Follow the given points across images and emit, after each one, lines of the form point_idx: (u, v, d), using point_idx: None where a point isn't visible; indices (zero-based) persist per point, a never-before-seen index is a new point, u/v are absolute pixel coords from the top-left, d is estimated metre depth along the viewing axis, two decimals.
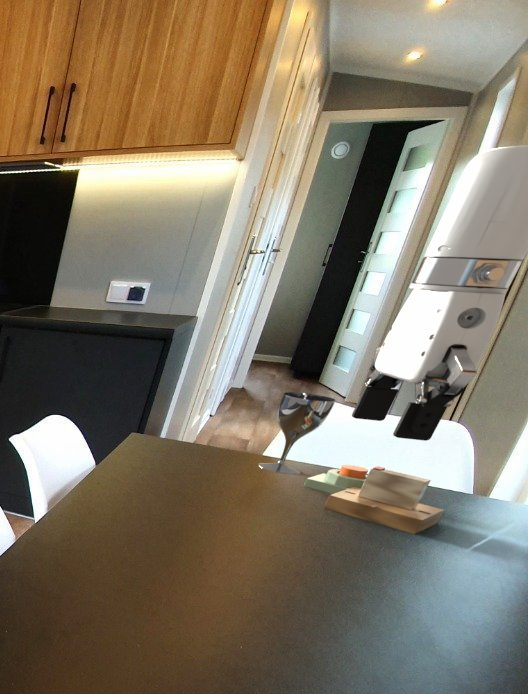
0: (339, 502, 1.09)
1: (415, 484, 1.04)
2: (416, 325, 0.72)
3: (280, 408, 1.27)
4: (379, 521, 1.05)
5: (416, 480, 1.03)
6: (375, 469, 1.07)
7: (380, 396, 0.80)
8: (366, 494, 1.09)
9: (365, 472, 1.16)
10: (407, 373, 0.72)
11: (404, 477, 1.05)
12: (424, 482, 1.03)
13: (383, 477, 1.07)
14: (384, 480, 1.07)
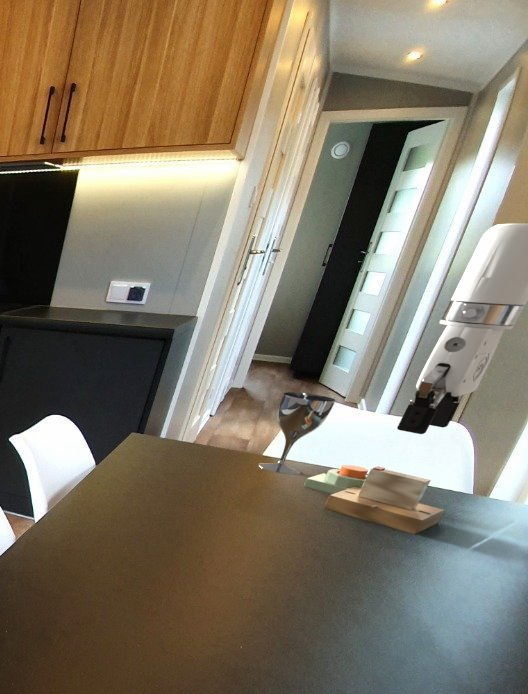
0: (339, 502, 1.09)
1: (415, 484, 1.04)
2: None
3: (280, 408, 1.27)
4: (379, 521, 1.05)
5: (416, 480, 1.03)
6: (375, 469, 1.07)
7: (441, 407, 1.02)
8: (366, 494, 1.09)
9: (365, 472, 1.16)
10: None
11: (404, 477, 1.05)
12: (424, 482, 1.03)
13: (383, 477, 1.07)
14: (384, 480, 1.07)
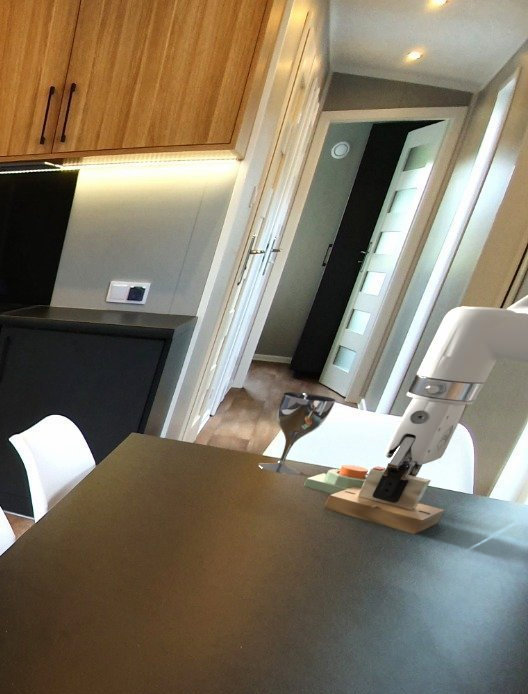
0: (339, 502, 1.09)
1: (415, 484, 1.04)
2: None
3: (280, 408, 1.27)
4: (379, 521, 1.05)
5: (416, 480, 1.03)
6: (375, 469, 1.07)
7: None
8: (366, 494, 1.09)
9: (365, 472, 1.16)
10: None
11: None
12: (424, 482, 1.03)
13: None
14: None
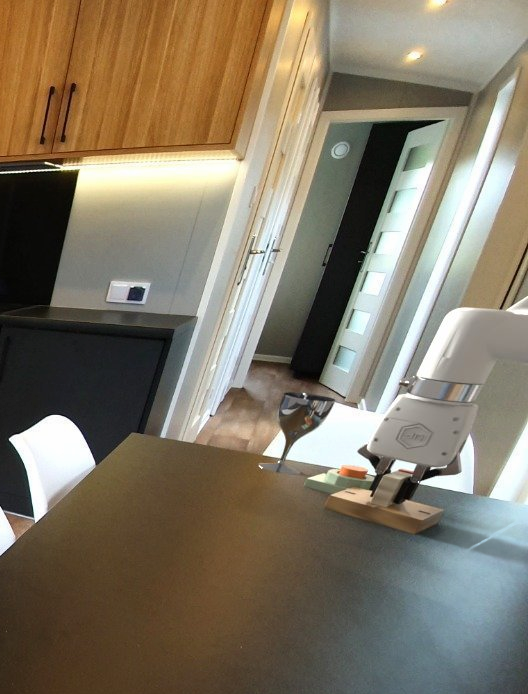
0: (339, 502, 1.09)
1: None
2: None
3: (280, 408, 1.27)
4: (379, 521, 1.05)
5: (386, 475, 1.05)
6: (399, 469, 1.08)
7: None
8: None
9: (365, 472, 1.16)
10: None
11: (390, 473, 1.06)
12: (383, 476, 1.05)
13: None
14: None
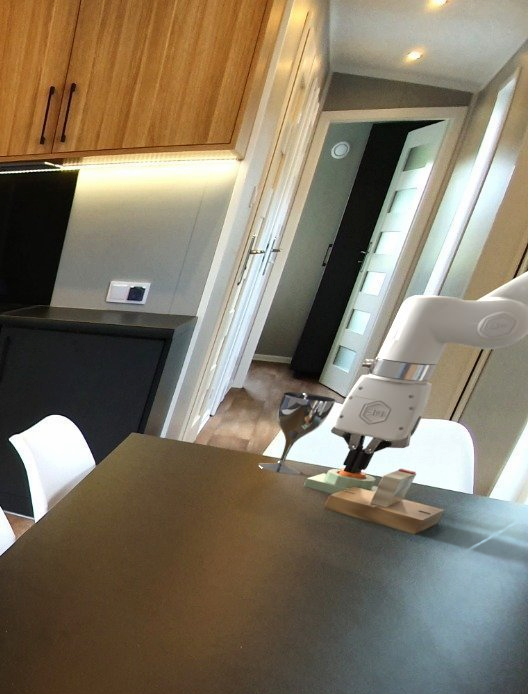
0: (339, 502, 1.09)
1: None
2: None
3: (280, 408, 1.27)
4: (379, 521, 1.05)
5: (386, 475, 1.05)
6: (399, 469, 1.08)
7: None
8: None
9: (363, 476, 1.16)
10: None
11: (390, 473, 1.06)
12: (383, 476, 1.05)
13: None
14: None
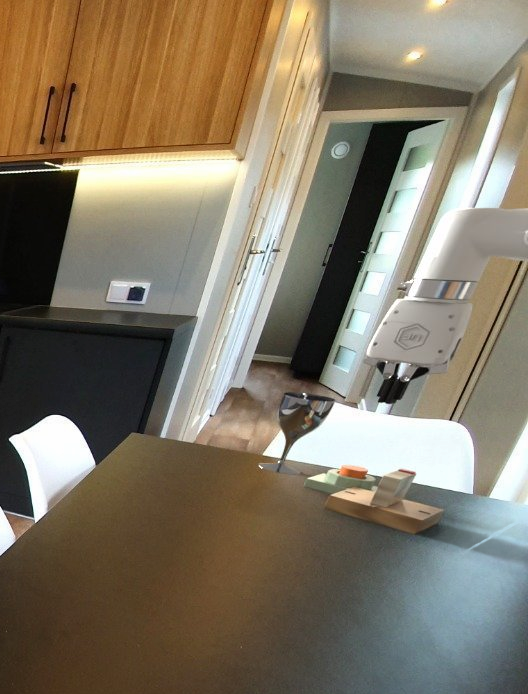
0: (339, 502, 1.09)
1: None
2: None
3: (280, 408, 1.27)
4: (379, 521, 1.05)
5: (386, 475, 1.05)
6: (399, 469, 1.08)
7: None
8: None
9: (365, 472, 1.16)
10: None
11: (390, 473, 1.06)
12: (383, 476, 1.05)
13: None
14: None
